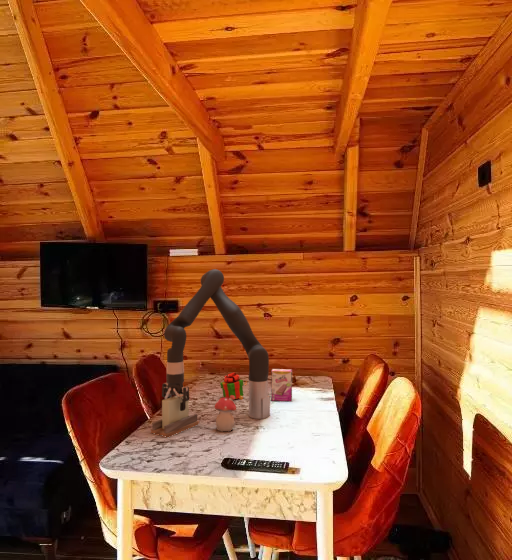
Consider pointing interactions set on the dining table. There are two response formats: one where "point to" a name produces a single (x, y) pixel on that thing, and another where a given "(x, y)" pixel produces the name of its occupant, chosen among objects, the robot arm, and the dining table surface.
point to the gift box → (232, 386)
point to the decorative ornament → (225, 413)
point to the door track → (174, 426)
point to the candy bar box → (281, 385)
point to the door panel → (173, 410)
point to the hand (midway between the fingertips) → (175, 408)
